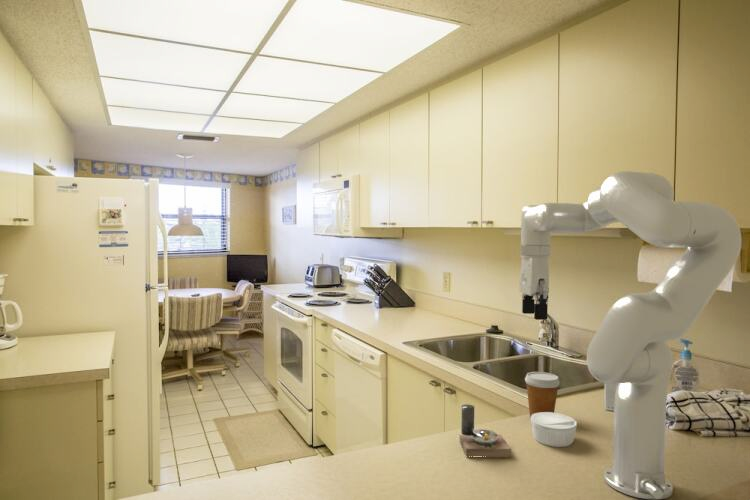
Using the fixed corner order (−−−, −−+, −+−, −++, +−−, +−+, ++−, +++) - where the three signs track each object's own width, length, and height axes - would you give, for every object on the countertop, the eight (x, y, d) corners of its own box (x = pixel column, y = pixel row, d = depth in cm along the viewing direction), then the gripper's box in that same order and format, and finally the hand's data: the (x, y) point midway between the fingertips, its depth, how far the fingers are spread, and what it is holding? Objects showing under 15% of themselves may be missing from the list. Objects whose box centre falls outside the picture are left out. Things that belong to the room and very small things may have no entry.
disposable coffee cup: (548, 426, 135) (549, 382, 135) (517, 416, 143) (518, 375, 142) (565, 418, 142) (566, 376, 141) (535, 409, 149) (536, 369, 148)
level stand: (510, 457, 116) (510, 446, 116) (466, 457, 116) (466, 446, 116) (500, 442, 125) (501, 432, 125) (459, 442, 124) (459, 432, 124)
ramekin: (566, 453, 119) (566, 431, 119) (522, 440, 126) (522, 419, 126) (583, 439, 127) (584, 419, 127) (541, 428, 135) (541, 408, 134)
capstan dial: (499, 447, 116) (500, 413, 116) (462, 445, 117) (463, 412, 116) (495, 435, 123) (495, 403, 123) (460, 433, 124) (460, 402, 124)
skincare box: (626, 413, 146) (627, 363, 146) (603, 410, 149) (604, 360, 148) (625, 404, 154) (626, 356, 153) (604, 401, 156) (605, 354, 156)
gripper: (511, 250, 141) (510, 311, 141) (532, 253, 124) (531, 321, 124) (538, 251, 141) (537, 311, 142) (562, 253, 124) (560, 322, 124)
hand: (534, 316), depth 133 cm, fingers open, 9 cm apart
